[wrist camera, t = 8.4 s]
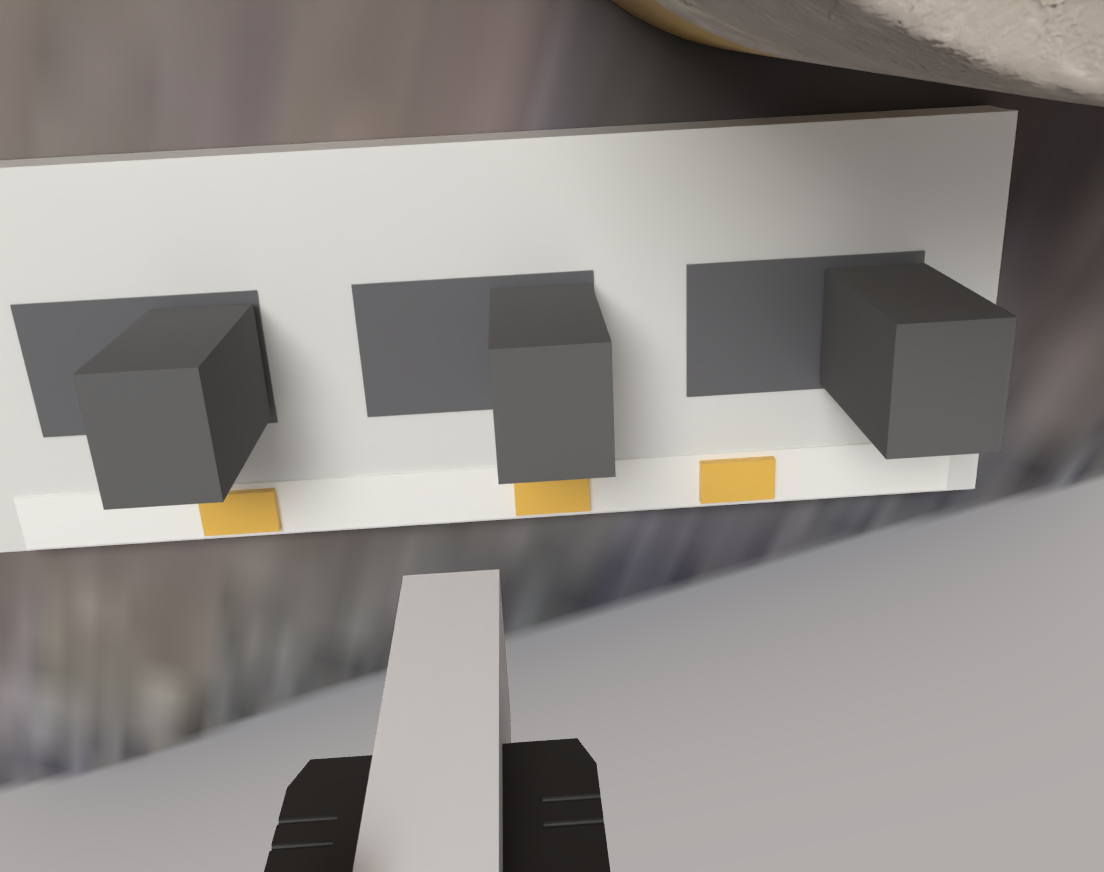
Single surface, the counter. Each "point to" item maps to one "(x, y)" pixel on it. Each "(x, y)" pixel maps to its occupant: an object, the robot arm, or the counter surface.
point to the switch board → (487, 308)
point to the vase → (911, 38)
